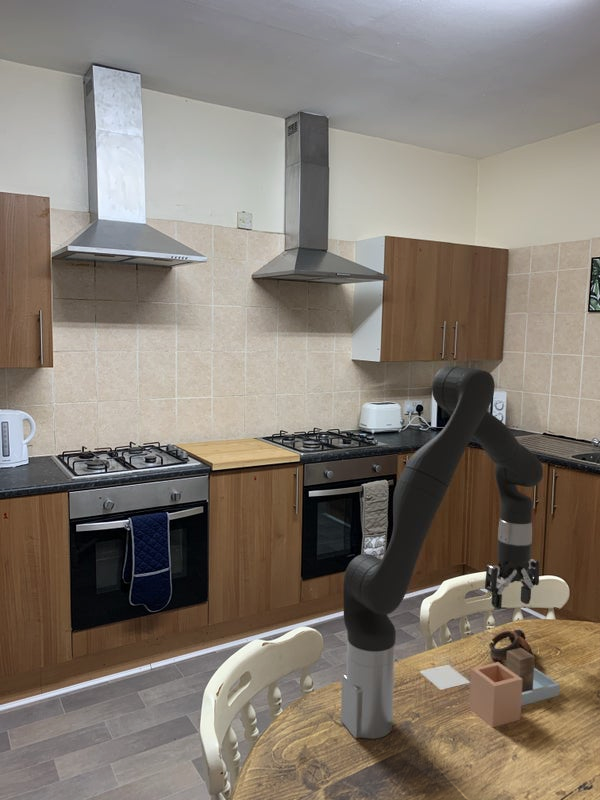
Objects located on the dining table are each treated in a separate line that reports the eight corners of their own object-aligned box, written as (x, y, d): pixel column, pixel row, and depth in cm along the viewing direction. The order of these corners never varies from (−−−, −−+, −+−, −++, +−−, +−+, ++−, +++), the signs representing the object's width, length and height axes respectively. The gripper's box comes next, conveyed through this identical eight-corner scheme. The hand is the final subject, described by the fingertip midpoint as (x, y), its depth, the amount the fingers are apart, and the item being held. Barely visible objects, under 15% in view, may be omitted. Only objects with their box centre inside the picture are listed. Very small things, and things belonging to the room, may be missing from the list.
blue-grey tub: (511, 711, 125) (512, 697, 125) (478, 685, 134) (479, 672, 134) (559, 697, 130) (559, 684, 130) (524, 674, 139) (525, 661, 139)
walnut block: (518, 696, 130) (520, 659, 129) (504, 686, 133) (506, 651, 133) (532, 692, 131) (534, 656, 131) (519, 682, 135) (521, 647, 134)
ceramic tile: (440, 692, 131) (440, 689, 131) (419, 673, 139) (419, 671, 139) (470, 684, 135) (470, 682, 135) (448, 667, 142) (448, 664, 142)
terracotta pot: (492, 730, 119) (494, 686, 118) (468, 710, 125) (470, 668, 124) (520, 722, 122) (522, 679, 121) (495, 703, 128) (498, 661, 127)
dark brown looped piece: (535, 680, 138) (518, 649, 138) (497, 685, 143) (480, 655, 143) (543, 645, 148) (527, 616, 147) (507, 651, 153) (491, 623, 153)
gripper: (502, 547, 138) (498, 616, 139) (549, 540, 143) (545, 607, 145) (479, 537, 144) (476, 603, 146) (526, 531, 150) (522, 595, 152)
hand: (511, 605), depth 145 cm, fingers open, 8 cm apart
